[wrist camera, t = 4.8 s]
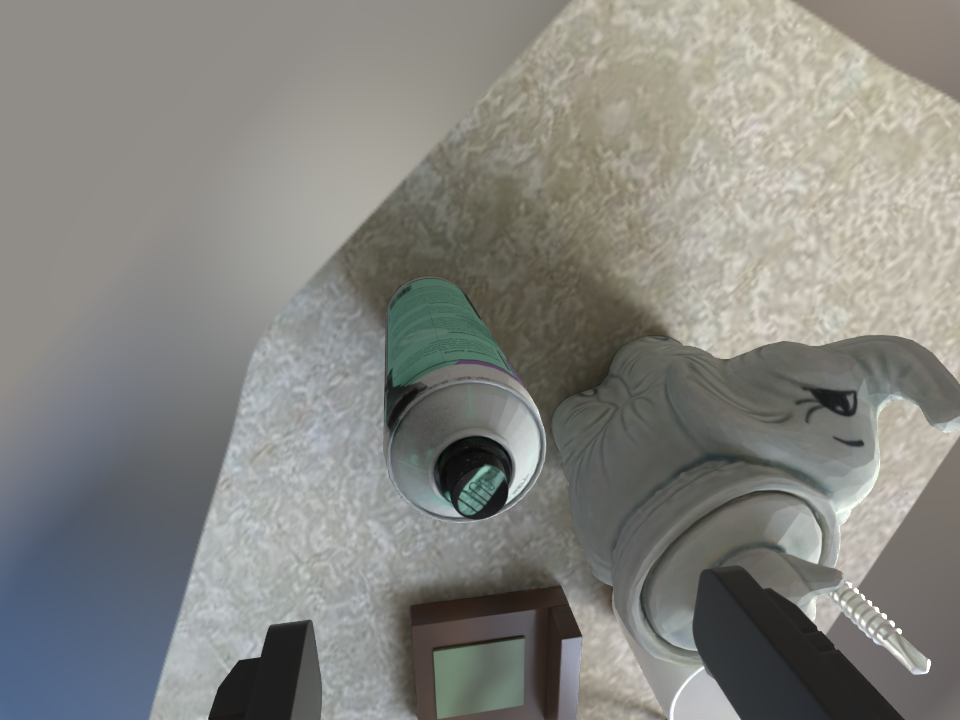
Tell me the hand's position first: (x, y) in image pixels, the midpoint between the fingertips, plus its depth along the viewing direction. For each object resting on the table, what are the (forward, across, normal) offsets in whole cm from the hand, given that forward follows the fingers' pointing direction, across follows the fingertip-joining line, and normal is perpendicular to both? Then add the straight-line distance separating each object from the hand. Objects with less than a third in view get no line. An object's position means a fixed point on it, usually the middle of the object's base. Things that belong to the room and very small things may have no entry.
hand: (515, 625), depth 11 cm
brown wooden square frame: (+25, -4, +28) cm, 38 cm away
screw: (+25, -28, +20) cm, 43 cm away
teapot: (+25, -16, +6) cm, 30 cm away
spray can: (+25, 0, 0) cm, 25 cm away
